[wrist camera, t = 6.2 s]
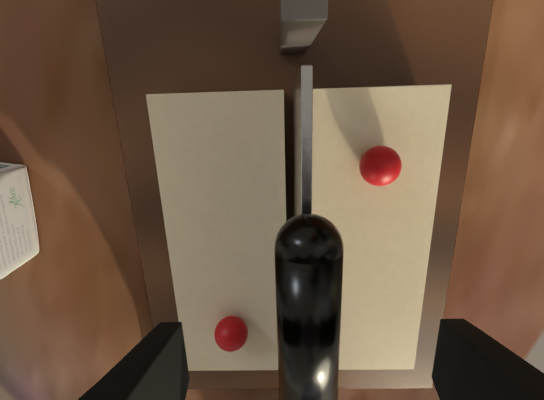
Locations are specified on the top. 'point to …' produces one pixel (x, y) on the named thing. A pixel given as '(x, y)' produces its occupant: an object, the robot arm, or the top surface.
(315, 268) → the cleaver knife
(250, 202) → the cake
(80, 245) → the top surface
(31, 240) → the syrup box
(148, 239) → the cutting board
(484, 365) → the robot arm
